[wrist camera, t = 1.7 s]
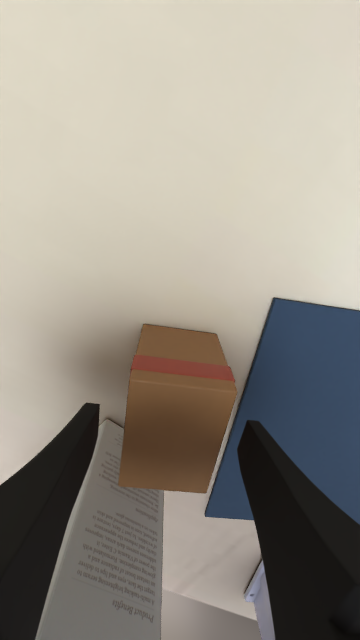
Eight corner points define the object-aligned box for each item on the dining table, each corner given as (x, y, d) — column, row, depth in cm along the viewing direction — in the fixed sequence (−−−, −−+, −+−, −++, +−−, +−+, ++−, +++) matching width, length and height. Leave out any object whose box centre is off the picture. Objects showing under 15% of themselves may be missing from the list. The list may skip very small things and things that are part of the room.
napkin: (372, 525, 24) (375, 529, 24) (204, 513, 23) (205, 516, 22) (513, 334, 16) (519, 336, 16) (273, 297, 15) (275, 299, 15)
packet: (197, 416, 18) (207, 495, 13) (132, 409, 18) (116, 488, 13) (217, 332, 16) (240, 391, 11) (142, 322, 15) (128, 378, 10)
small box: (104, 504, 22) (50, 742, 12) (45, 475, 20) (-72, 722, 10) (167, 452, 20) (164, 690, 10) (107, 415, 18) (33, 655, 8)
